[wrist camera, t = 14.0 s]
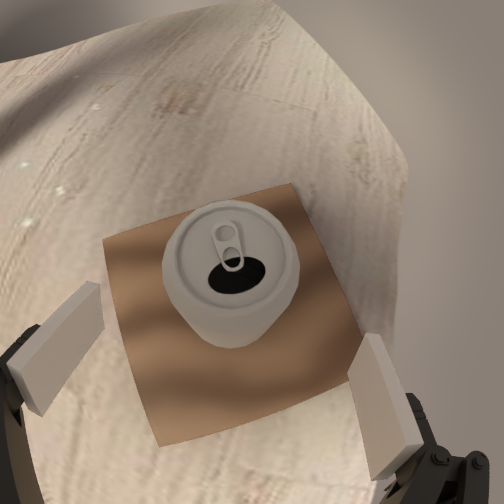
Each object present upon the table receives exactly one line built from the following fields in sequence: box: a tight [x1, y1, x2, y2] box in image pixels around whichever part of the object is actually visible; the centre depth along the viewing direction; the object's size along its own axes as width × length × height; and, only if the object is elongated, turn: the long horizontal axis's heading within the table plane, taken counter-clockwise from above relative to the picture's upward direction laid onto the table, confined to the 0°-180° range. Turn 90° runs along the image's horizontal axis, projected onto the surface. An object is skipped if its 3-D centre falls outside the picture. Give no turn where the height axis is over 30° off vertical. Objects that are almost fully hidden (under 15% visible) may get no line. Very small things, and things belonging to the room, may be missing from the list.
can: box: [162, 200, 300, 349], centre depth 20 cm, size 8×8×12 cm
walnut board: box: [103, 183, 363, 447], centre depth 26 cm, size 20×20×1 cm
